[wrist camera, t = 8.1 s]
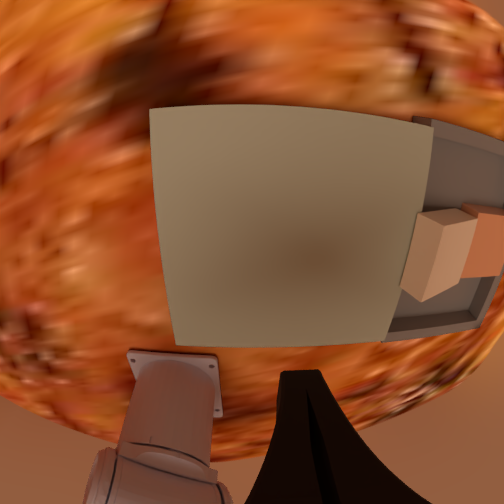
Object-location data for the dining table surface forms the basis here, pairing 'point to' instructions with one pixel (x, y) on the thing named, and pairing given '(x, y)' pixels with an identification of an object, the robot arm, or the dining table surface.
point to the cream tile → (437, 252)
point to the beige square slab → (284, 221)
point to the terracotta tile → (485, 242)
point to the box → (452, 196)
